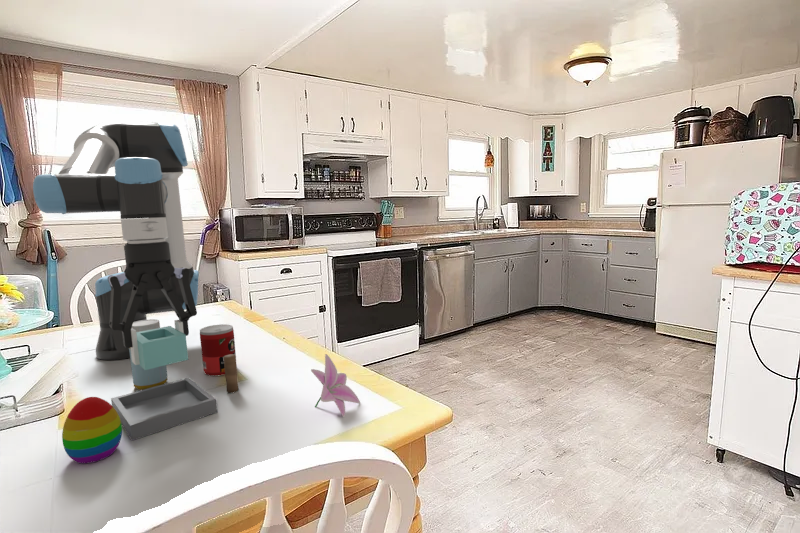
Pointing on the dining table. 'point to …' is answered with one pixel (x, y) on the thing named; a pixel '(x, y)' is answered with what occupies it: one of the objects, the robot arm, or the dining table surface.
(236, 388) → the post
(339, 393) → the lily
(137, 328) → the bottle
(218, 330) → the canned food
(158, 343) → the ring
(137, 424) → the tray
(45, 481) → the dining table surface
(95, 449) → the decorative egg
